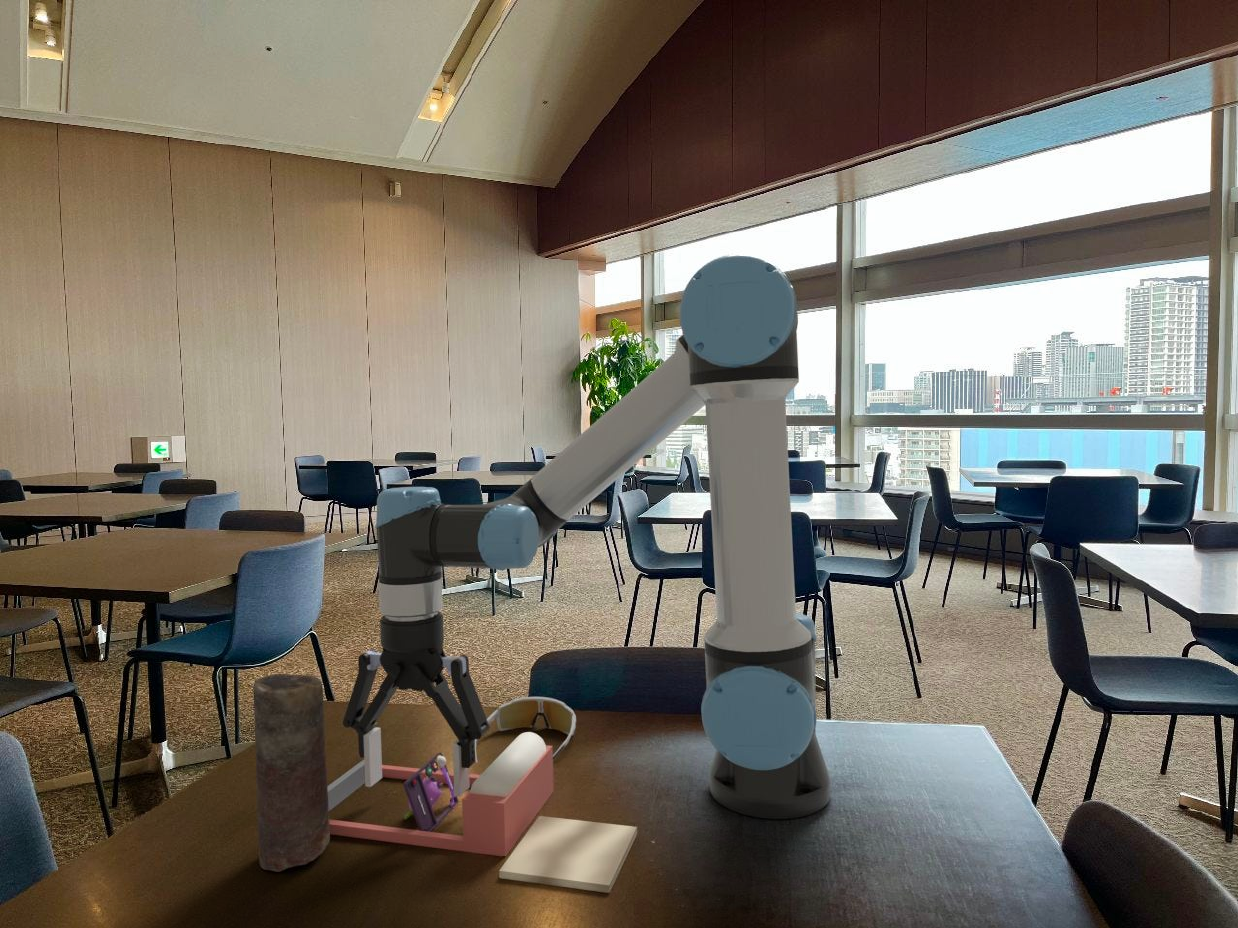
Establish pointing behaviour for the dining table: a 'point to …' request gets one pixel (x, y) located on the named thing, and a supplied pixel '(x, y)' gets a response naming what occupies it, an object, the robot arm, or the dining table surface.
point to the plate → (570, 854)
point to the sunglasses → (535, 716)
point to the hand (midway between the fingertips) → (417, 786)
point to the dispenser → (469, 801)
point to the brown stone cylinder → (290, 770)
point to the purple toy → (428, 794)
